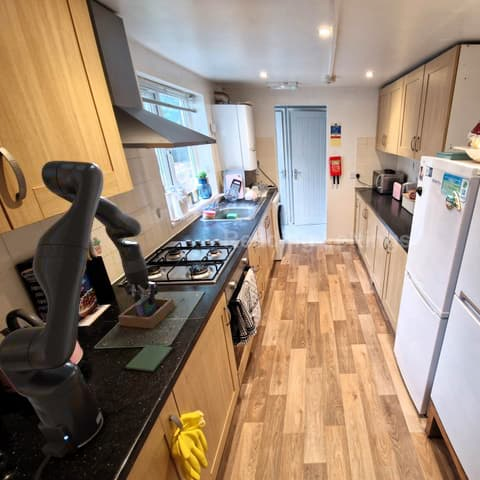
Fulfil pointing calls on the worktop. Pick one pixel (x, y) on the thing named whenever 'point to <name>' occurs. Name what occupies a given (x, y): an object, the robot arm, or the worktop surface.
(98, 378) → the worktop surface
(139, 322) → the brown wooden tray
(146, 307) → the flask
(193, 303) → the worktop surface
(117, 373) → the worktop surface
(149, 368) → the mat
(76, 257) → the robot arm
